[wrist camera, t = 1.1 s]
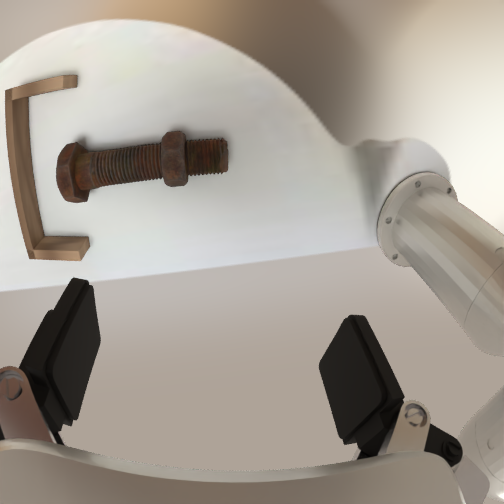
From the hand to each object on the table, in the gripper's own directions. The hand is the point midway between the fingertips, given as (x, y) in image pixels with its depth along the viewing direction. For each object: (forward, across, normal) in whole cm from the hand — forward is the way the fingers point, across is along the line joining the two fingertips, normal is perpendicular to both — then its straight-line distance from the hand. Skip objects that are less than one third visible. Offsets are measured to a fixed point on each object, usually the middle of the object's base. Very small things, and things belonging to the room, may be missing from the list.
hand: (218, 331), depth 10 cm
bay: (+19, +18, +2) cm, 26 cm away
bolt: (+20, +7, 0) cm, 21 cm away
